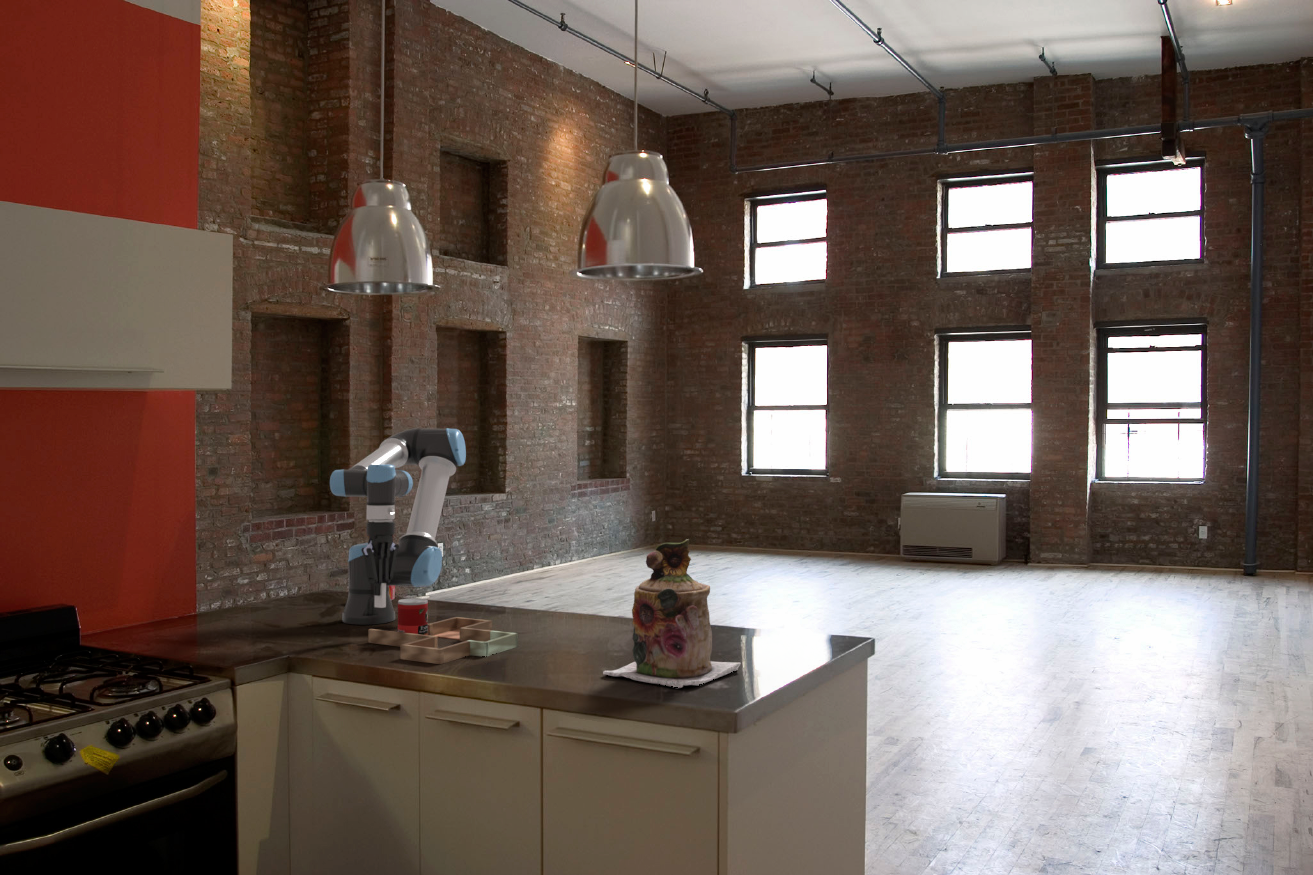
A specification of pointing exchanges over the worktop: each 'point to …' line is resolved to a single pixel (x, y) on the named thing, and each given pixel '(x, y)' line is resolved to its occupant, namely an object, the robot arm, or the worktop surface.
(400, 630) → the canned food
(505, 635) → the channel
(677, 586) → the cookie jar
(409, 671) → the worktop surface
